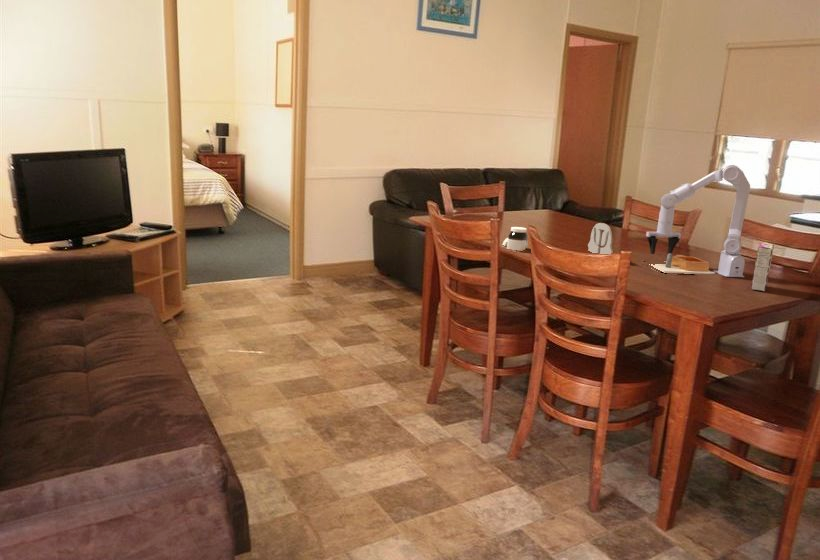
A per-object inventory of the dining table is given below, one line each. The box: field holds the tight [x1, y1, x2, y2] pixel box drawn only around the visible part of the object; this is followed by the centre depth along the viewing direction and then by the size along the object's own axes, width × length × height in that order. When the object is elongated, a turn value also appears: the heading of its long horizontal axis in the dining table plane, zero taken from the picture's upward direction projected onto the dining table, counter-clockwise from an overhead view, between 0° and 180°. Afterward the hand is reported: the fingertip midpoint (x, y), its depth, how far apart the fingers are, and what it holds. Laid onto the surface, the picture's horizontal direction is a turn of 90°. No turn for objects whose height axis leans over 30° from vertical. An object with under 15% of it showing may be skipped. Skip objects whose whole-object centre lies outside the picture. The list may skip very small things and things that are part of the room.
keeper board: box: [649, 253, 716, 275], centre depth 261 cm, size 20×22×7 cm
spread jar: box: [502, 226, 529, 250], centre depth 276 cm, size 12×11×12 cm
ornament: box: [587, 222, 614, 255], centre depth 266 cm, size 22×13×17 cm, turn 15°
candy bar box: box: [750, 242, 775, 292], centre depth 234 cm, size 11×5×16 cm, turn 148°
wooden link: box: [671, 254, 710, 271], centre depth 262 cm, size 15×10×4 cm, turn 5°
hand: (660, 253), depth 265 cm, fingers open, 7 cm apart
